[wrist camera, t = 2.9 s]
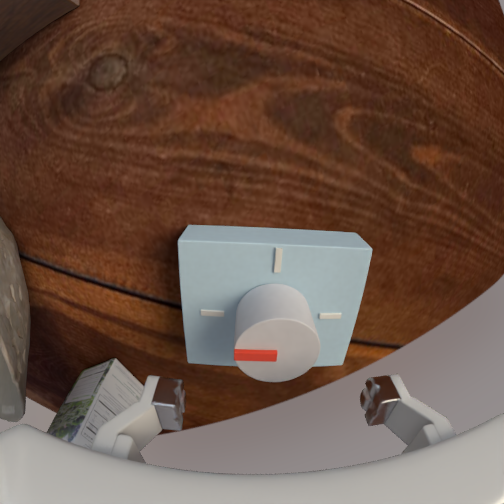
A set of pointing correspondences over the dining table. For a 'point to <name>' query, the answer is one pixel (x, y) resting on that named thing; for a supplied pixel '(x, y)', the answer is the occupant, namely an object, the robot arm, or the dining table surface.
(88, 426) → the syrup box
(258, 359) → the dial
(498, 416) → the robot arm
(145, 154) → the dining table surface
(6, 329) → the ceramic bowl
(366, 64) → the dining table surface
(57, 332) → the dining table surface
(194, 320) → the panel
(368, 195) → the dining table surface
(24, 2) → the tissue box cover
